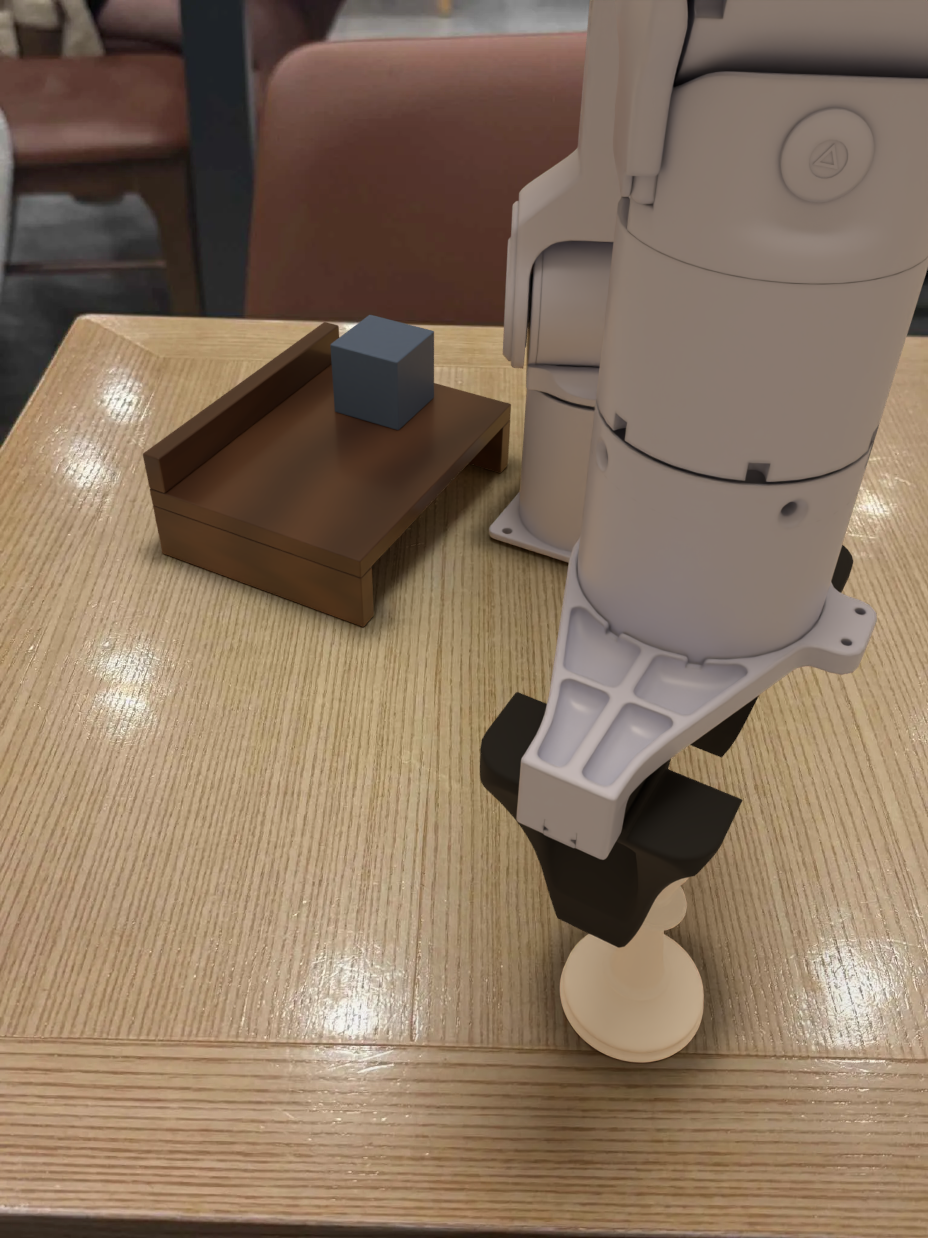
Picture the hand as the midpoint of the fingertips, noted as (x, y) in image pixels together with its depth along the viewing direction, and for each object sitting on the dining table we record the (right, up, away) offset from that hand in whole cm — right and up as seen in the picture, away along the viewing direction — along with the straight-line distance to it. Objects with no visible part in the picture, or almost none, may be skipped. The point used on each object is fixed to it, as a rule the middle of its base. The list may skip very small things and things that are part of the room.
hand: (648, 823), depth 32 cm
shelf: (-12, +12, +28) cm, 32 cm away
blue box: (-10, +18, +28) cm, 35 cm away
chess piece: (0, -7, +6) cm, 10 cm away
